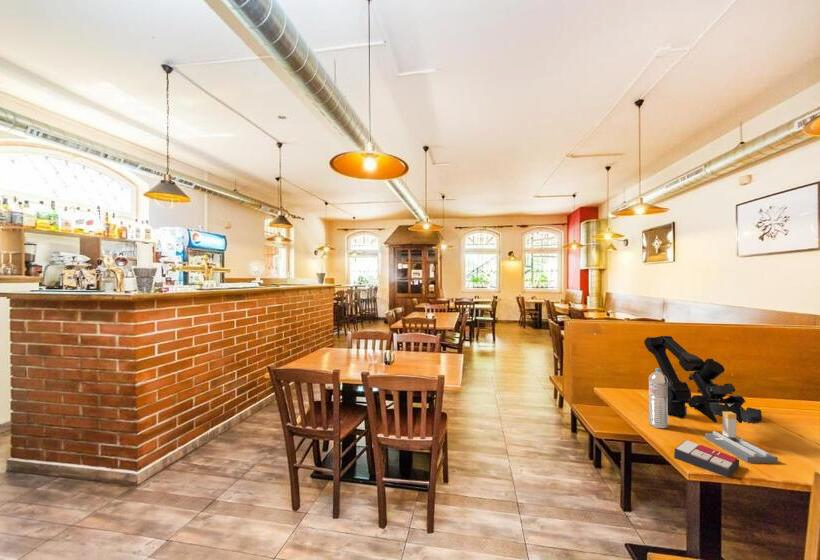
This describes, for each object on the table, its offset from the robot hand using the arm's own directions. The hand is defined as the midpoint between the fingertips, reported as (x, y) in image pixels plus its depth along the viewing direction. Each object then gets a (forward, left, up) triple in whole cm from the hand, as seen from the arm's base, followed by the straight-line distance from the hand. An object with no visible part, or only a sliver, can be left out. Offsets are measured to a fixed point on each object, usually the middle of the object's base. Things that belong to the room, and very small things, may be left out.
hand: (728, 422), depth 132 cm
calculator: (-3, -23, -9) cm, 25 cm away
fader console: (+3, -3, -8) cm, 9 cm away
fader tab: (0, 0, -6) cm, 6 cm away
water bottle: (-23, -1, -9) cm, 24 cm away
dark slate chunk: (-5, +39, -9) cm, 41 cm away
